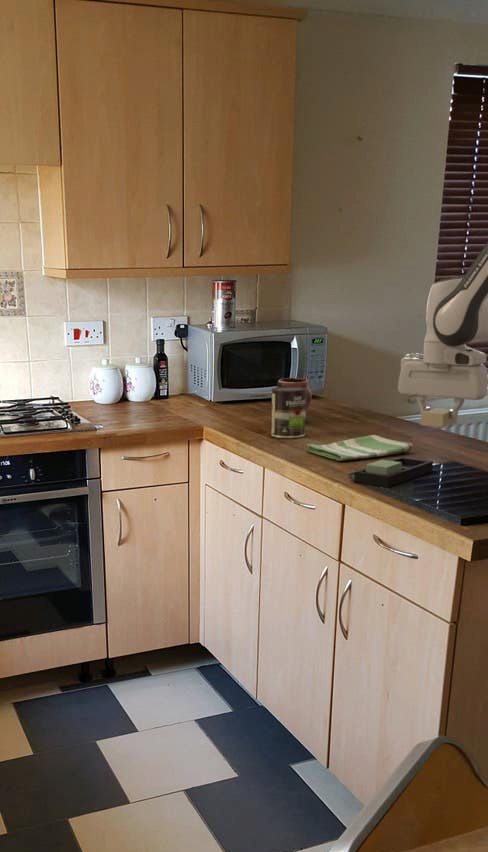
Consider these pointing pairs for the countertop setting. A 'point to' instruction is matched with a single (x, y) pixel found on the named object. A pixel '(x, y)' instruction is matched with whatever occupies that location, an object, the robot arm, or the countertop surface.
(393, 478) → the divided tray
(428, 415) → the cream pad
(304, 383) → the decorative planter
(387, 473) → the sage pad
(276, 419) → the coffee can
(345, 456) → the dish towel
